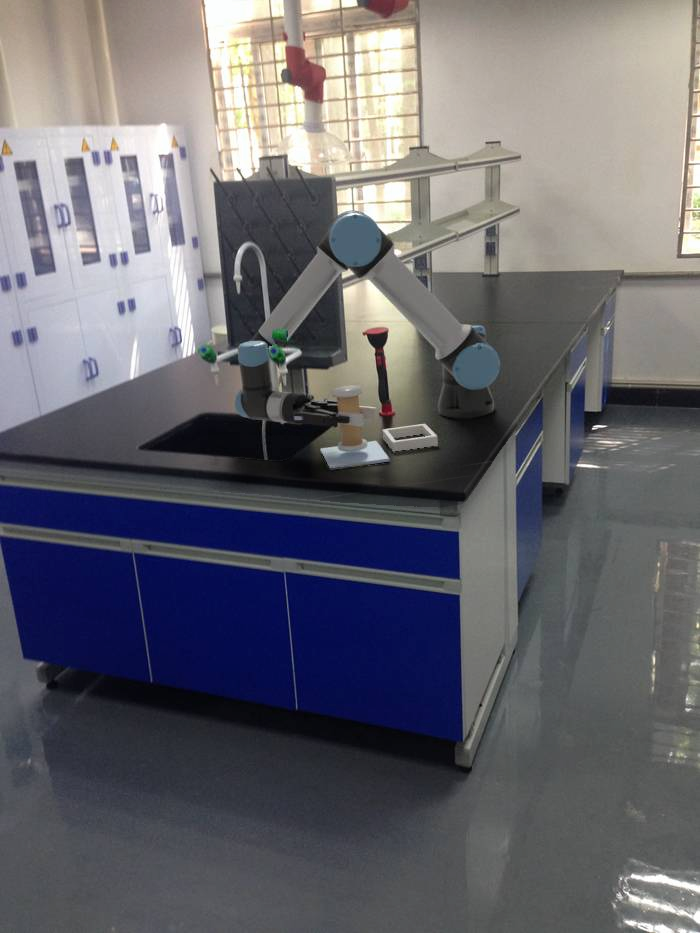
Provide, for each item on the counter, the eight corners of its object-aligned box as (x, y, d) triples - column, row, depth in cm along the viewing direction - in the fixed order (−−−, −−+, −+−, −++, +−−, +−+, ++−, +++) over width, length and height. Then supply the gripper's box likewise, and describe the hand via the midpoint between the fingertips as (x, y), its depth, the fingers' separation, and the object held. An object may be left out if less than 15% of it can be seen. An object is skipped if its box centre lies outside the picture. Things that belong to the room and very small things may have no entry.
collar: (425, 433, 211) (424, 423, 210) (437, 445, 201) (437, 436, 200) (383, 439, 209) (382, 429, 208) (393, 452, 199) (392, 442, 198)
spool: (365, 440, 201) (359, 384, 196) (369, 449, 194) (363, 390, 190) (336, 444, 200) (330, 387, 196) (339, 453, 194) (333, 394, 189)
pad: (376, 444, 206) (376, 440, 205) (389, 462, 193) (389, 458, 192) (320, 452, 204) (320, 448, 203) (330, 471, 191) (329, 466, 190)
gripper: (313, 412, 213) (390, 421, 200) (268, 433, 199) (348, 444, 186) (310, 384, 210) (388, 391, 197) (264, 403, 196) (345, 412, 184)
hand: (369, 416), depth 192 cm, fingers closed on spool, 5 cm apart
